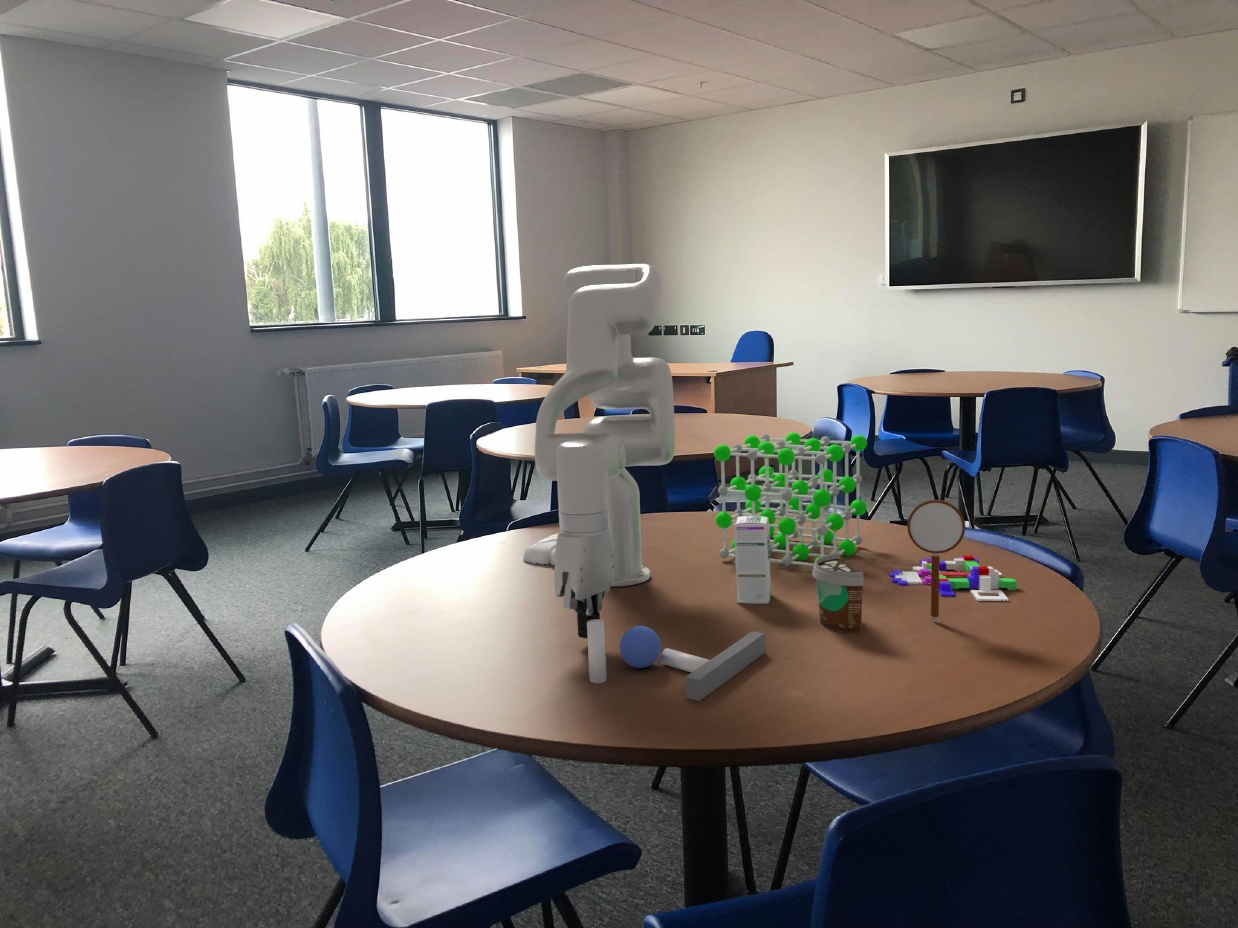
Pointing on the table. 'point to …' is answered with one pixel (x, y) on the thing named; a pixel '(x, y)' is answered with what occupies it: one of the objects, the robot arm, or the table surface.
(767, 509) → the molecular structure model
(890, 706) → the table surface
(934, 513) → the magnifying glass
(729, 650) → the stopper wall
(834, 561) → the food container
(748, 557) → the syrup box
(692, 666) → the white pin
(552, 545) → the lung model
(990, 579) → the building block set
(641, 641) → the ball
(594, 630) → the grey pin
